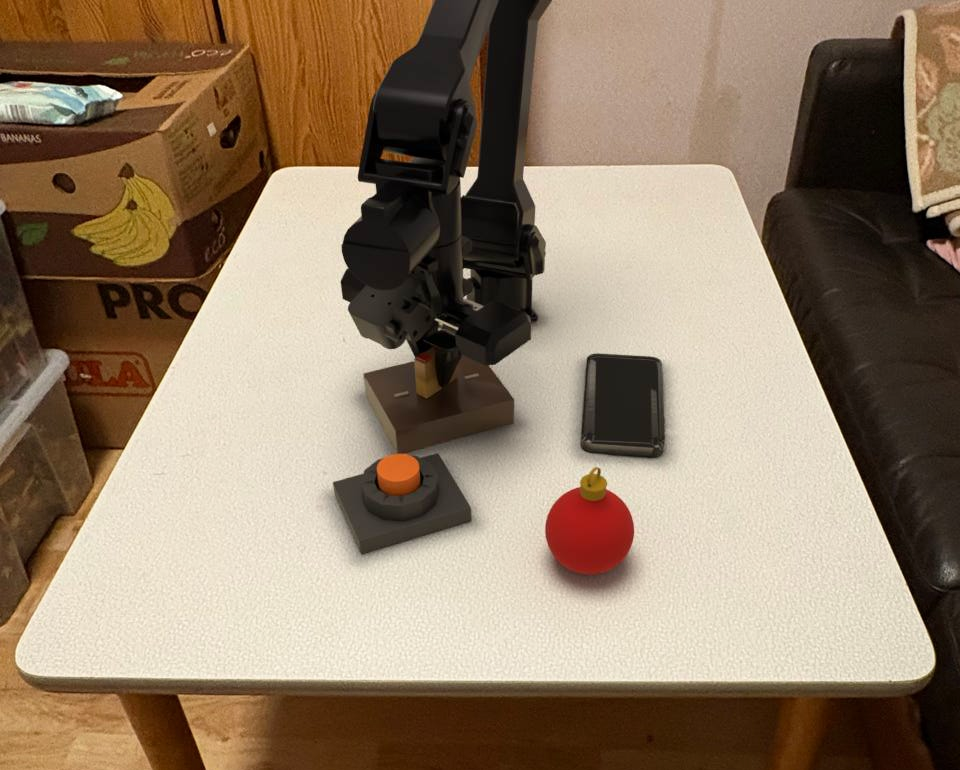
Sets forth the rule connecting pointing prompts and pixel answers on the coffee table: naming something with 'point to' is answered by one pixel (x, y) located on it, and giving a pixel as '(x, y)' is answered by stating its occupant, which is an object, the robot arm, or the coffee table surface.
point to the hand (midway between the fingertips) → (437, 381)
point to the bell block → (401, 506)
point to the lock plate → (437, 405)
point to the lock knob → (427, 374)
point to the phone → (623, 405)
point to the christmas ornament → (589, 527)
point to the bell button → (398, 474)
